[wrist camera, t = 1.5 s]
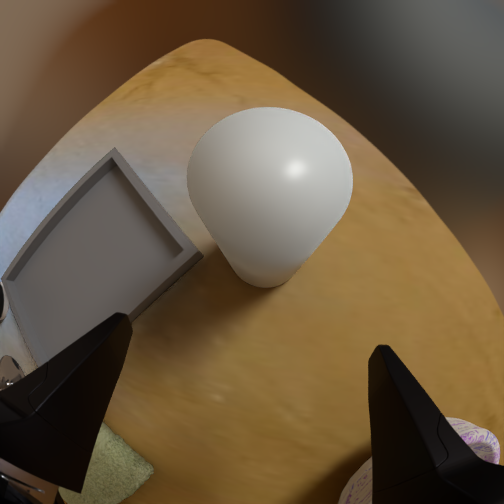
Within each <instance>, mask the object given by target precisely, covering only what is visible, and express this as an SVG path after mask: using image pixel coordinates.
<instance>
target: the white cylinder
mask: <svg viewBox="0 0 504 504" xmlns="http://www.w3.org/2000/svg"><path fill="white" fill-rule="evenodd" d="M187 186H188V191H189V196H190V198H191V201H192V204H193V206H194V208H195V209H196V211H197V213H198V215H199V216H200V218H201V220H202V221H203V223H204V224H205V226H206V228H207V229H208V231H209V232H210V234H211V236H212V237H213V239H214V240H215V242H216V243H217V245H218V247H219V248H220V250H221V251H222V253H223V255H224V256H225V258H226V259H227V261H228V262H229V264H230V265H231V267H232V269H233V270H234V272H235V273H236V274H237V275H238V276H239V277H240V278H241V279H242V280H243V281H245V282H246V283H248V284H250V285H253V286H256V287H261V288H270V287H275V286H279V285H281V284H283V283H285V282H286V281H288V280H289V279H290V278H291V277H292V276H293V275H294V274H295V273H296V272H297V271H298V270H299V268H300V267H301V266H302V265H303V264H304V263H305V261H306V260H307V259H308V258H309V257H310V256H311V254H312V253H313V252H314V251H315V250H316V248H317V247H318V246H319V245H320V244H321V242H322V241H323V240H324V239H325V237H326V236H327V235H328V234H329V233H330V231H331V230H332V229H333V228H334V226H335V225H336V224H337V223H338V222H339V220H340V219H341V217H342V216H343V214H344V213H345V211H346V209H347V206H348V204H349V202H350V198H351V194H352V187H353V174H352V169H351V164H350V161H349V158H348V156H347V154H346V152H345V150H344V148H343V146H342V145H341V143H340V142H339V140H338V139H337V138H336V137H335V136H334V135H333V133H332V132H330V131H329V130H328V129H327V128H326V127H325V126H323V125H322V124H321V123H319V122H318V121H316V120H314V119H313V118H311V117H309V116H307V115H304V114H302V113H299V112H296V111H293V110H289V109H284V108H275V107H260V108H252V109H248V110H243V111H240V112H237V113H234V114H232V115H230V116H228V117H226V118H224V119H222V120H221V121H219V122H217V123H216V124H215V125H214V126H212V127H211V128H210V129H209V130H208V131H207V132H206V133H205V134H204V135H203V136H202V138H201V139H200V140H199V141H198V143H197V145H196V146H195V148H194V150H193V152H192V155H191V157H190V160H189V164H188V170H187Z"/></svg>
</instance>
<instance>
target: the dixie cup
mask: <svg viewBox="0 0 504 504" xmlns="http://www.w3.org/2000/svg"><path fill="white" fill-rule="evenodd" d="M8 307H9V301H8V298H7V295H6V292H5V289H4V286H3V283H2V282H0V320H3V319H4V318H5V317H6V315H7V312H8Z"/></svg>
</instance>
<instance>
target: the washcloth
mask: <svg viewBox="0 0 504 504" xmlns="http://www.w3.org/2000/svg"><path fill="white" fill-rule="evenodd" d="M153 472H154V469H153V466H152V465H151V464H150V463H148V462H146V461H145V459H144V458H143V457H141V456H139V454H138V453H136V452H135V451H133V450H132V449H131V447H130V446H129V445H128V444H126V443H125V442H124V440H123V439H122V438H121V437H120V436H119V435H115V434H114V433H113V432H112V431H111V429H110V428H109V427H108V426H107V425H106V424H105V423H104V422H102V425H101V428H100V431H99V434H98V437H97V440H96V443H95V446H94V449H93V453H92V456H91V460H90V463H89V467H88V470H87V474H86V477H85V481H84V485H83V489H82V492H81V494H79V493H76V492H73V491H70V490H68V489H65V488H62V487H59V490H58V491H59V493H60V495H61V497H62V498H63V499H64V500H65V501H66V502H67V503H68V504H117V503H120V502H121V501H122V500H123V499H126V498H128V497H129V496H130V495H132V494H133V493H134V492H135V491H136V490H137V489H138V488H140V486H141V485H142V484H144V481H146V480H148V478H150V475H151V474H154V473H153Z"/></svg>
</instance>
